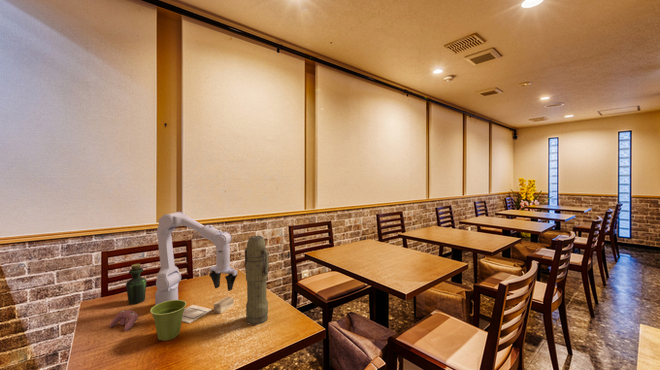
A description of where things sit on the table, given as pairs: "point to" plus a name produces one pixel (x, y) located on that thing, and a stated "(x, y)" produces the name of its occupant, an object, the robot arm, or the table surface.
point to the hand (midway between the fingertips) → (223, 288)
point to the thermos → (256, 280)
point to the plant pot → (168, 318)
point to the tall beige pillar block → (223, 305)
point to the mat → (194, 313)
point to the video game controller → (125, 319)
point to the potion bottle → (136, 286)
